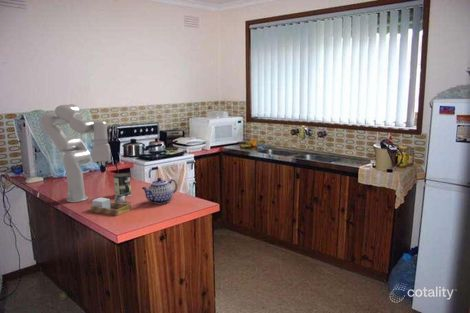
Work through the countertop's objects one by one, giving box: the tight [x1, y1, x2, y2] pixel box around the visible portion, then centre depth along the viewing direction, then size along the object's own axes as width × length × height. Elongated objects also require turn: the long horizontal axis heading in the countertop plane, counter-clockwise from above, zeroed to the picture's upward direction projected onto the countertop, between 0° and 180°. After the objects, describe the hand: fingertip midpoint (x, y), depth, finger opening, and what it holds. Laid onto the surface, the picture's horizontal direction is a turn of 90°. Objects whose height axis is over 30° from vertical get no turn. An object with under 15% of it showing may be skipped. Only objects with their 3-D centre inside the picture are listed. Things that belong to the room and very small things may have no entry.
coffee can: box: [112, 172, 132, 198], centre depth 246 cm, size 10×10×14 cm
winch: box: [114, 195, 132, 204], centre depth 229 cm, size 10×8×4 cm
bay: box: [89, 201, 132, 217], centre depth 217 cm, size 20×11×3 cm, turn 64°
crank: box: [117, 185, 130, 197], centre depth 231 cm, size 10×3×5 cm, turn 153°
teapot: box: [141, 177, 178, 205], centre depth 230 cm, size 25×15×15 cm, turn 132°
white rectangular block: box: [91, 197, 112, 209], centre depth 219 cm, size 8×6×6 cm
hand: (103, 172), depth 224 cm, fingers closed
